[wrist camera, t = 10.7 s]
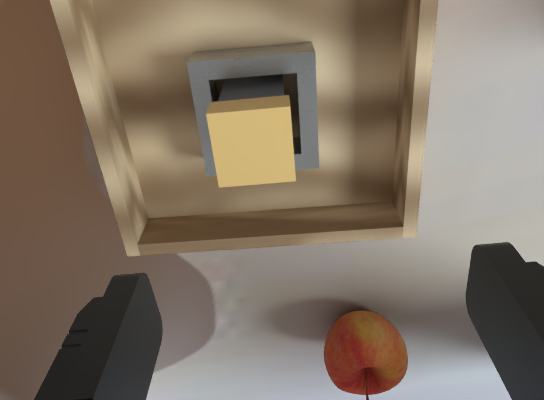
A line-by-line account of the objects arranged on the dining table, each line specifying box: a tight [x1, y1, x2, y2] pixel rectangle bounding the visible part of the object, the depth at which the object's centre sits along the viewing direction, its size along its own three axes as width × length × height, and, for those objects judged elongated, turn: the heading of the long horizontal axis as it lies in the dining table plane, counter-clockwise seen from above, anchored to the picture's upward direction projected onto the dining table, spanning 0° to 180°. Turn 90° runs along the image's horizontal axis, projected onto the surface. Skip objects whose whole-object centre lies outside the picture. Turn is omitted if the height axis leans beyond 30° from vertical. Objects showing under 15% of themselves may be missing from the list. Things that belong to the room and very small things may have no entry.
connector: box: [206, 74, 296, 188], centre depth 29 cm, size 5×5×8 cm
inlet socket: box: [187, 42, 319, 176], centre depth 32 cm, size 8×8×3 cm
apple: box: [324, 311, 408, 400], centre depth 41 cm, size 7×7×8 cm
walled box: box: [50, 0, 438, 256], centre depth 32 cm, size 20×22×4 cm
